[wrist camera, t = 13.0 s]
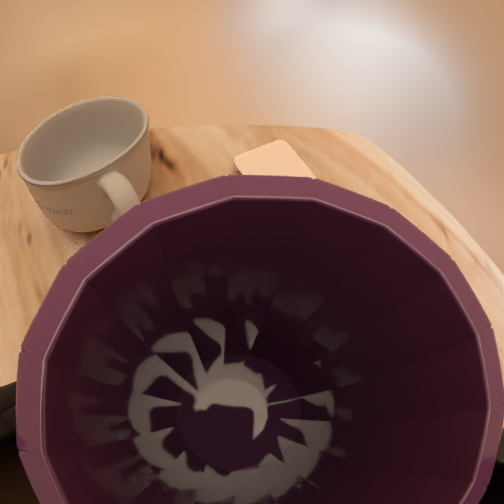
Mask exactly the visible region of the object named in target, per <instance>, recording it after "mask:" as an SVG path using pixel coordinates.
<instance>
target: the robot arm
mask: <svg viewBox="0 0 504 504" xmlns="http://www.w3.org/2000/svg"><path fill="white" fill-rule="evenodd" d="M16 386H17V381H16V382H13V383H10V384H8V385H5V386H2V387H0V504H39V502H38V500H37V498H36V495H35V493H34V491H33V489H32V487H31V485H30V482H29V480H28V478H27V475H26V473H25V470H24V468H23V465H22V463H21V460H20V457H19V453H18V452H19V450H18V449H17V442H16ZM479 504H504V428H502V433H501V439H500V443H499V448H498V453H497V457H496V461H495V465H494V469H493V473H492V476H491V480H490V483H489V485H488V486H487V490H486V492H485V494H484V496H483V497H482V499H481V501H480V502H479Z"/></svg>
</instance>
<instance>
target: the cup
mask: <svg viewBox="0 0 504 504" xmlns="http://www.w3.org/2000/svg"><path fill="white" fill-rule="evenodd" d="M66 263H67V265H63V266H62V268H61V270H60V271H59V273H58V275H57V276H56V278H55V280H54V282H53V283H52V285H51V287H50V289H49V291H48V293H47V294H46V296H45V298H44V300H43V302H42V304H41V306H40V308H39V310H38V312H37V313H36V315H35V317H34V320H33V322H32V324H31V326H30V328H29V330H28V332H27V334H26V336H25V338H24V341H23V343H22V345H21V350H22V351H21V352H20V353H19V359H18V370H17V386H16V442H17V449H18V450H19V452H18V453H19V457H20V460H21V463H22V465H23V468H24V470H25V473H26V475H27V478H28V480H29V482H30V485H31V487H32V489H33V491H34V493H35V495H36V498H37V500H38V502H39V504H479V502H480V501H481V499H482V497H483V496H484V494H485V492H486V490H487V486H488V485H489V483H490V480H491V476H492V473H493V469H494V465H495V461H496V457H497V453H498V448H499V443H500V439H501V433H502V428H503V422H504V384H503V377H502V371H501V365H500V359H499V354H498V348H497V344H496V339H495V334H494V330H493V328H491V322H490V320H489V318H488V317H487V315H486V313H485V311H484V309H483V307H482V305H481V304H480V302H479V300H478V298H477V297H476V295H475V293H474V291H473V290H472V288H471V286H470V285H469V283H468V281H467V280H466V278H465V277H464V275H463V273H462V272H461V270H460V269H459V267H458V265H457V264H456V262H455V261H454V260H452V258H451V256H450V255H449V254H448V253H446V252H445V251H444V250H443V249H442V248H441V247H440V246H439V245H437V244H436V243H435V242H434V241H433V240H432V239H430V238H429V237H428V236H427V235H426V234H424V233H423V232H422V231H421V230H420V229H418V228H417V227H416V226H415V225H414V224H412V223H411V222H410V221H409V220H407V219H406V218H405V217H404V216H402V215H401V214H400V213H399V212H397V211H396V210H395V209H393V208H392V209H390V207H389V206H388V205H386V204H383V203H381V202H378V201H376V200H373V199H371V198H368V197H366V196H363V195H361V194H358V193H355V192H353V191H350V190H347V189H345V188H342V187H339V186H337V185H334V184H331V183H328V182H326V181H323V180H320V179H317V178H315V179H314V180H313V179H312V178H311V177H299V176H275V175H228V176H227V177H226V176H219V177H216V178H213V179H209V180H206V181H203V182H199V183H196V184H193V185H190V186H187V187H184V188H180V189H177V190H174V191H171V192H168V193H165V194H162V195H159V196H156V197H153V198H150V199H148V200H145V201H142V202H141V203H140V205H139V204H137V205H135V206H134V207H132V208H131V209H130V210H128V211H127V212H126V213H124V214H123V215H122V216H120V217H119V218H118V219H117V220H115V221H114V222H113V223H111V224H110V225H109V226H108V227H106V228H105V229H104V230H103V231H101V232H100V233H99V234H98V235H97V236H95V237H94V238H93V239H92V240H90V241H89V242H88V243H87V244H86V245H84V246H83V247H82V248H81V249H80V250H79V251H77V252H76V253H75V254H74V255H73V256H72V257H70V258H69V259H68V260H67V262H66Z"/></svg>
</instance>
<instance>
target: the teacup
mask: <svg viewBox="0 0 504 504" xmlns="http://www.w3.org/2000/svg"><path fill="white" fill-rule="evenodd" d="M148 127H149V117H148V114H147V112H146V109H145V108H144V107H143V106H142V105H141V104H140V103H138V102H137V101H134V100H132V99H129V98H124V97H119V96H104V97H96V98H91V99H87V100H84V101H80V102H77V103H74V104H72V105H69V106H66V107H64V108H62V109H60V110H59V111H57V112H55V113H53V114H52V115H50V116H48V117H47V118H46V119H44V120H43V121H42V122H41V123H39V124H38V125H37V126H36V127H35V128H34V129H33V130H32V131H31V132H30V133H29V135H28V136H27V137H26V139H25V140H24V142H23V144H22V145H21V147H20V149H19V151H18V155H17V158H16V167H17V171H18V173H19V175H20V177H21V178H22V179H23V180H24V181H25V183H26V185H27V187H28V189H29V191H30V192H31V194H32V196H33V198H34V199H35V201H36V203H37V204H38V206H39V207H40V209H41V210H42V212H43V213H44V214H45V215H46V217H47V218H48V219H49V220H50V221H51V222H53V223H54V224H55V225H57V226H59V227H61V228H63V229H65V230H68V231H73V232H92V231H96V230H100V229H103V228H106V227H108V226H109V225H110V224H111V223H113V222H114V221H115V220H117V219H118V218H119V217H120V216H122V215H123V214H124V213H126V212H127V211H128V210H130V209H131V208H132V207H134V206H135V205H137V204H139V205H140V203H141V202H140V201H141V200H142V198H143V197H144V195H145V194H146V191H147V189H148V186H149V183H150V178H151V151H150V141H149V132H148Z"/></svg>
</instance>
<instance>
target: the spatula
mask: <svg viewBox="0 0 504 504" xmlns="http://www.w3.org/2000/svg"><path fill="white" fill-rule="evenodd" d="M234 165H235V166H236V168H237V169H238V170H239V172H240V173H241V174H242V175H275V176H299V177H311V178H312V179H313V180H314V179H315V178H316V177H315V175H314V174H313V173H312V172H311V170H310V169H309V168H308V167H307V165H306V164H305V163H304V162H303V161H302V159H301V158H300V157H299V156H298V155H297V153H296V152H295V151H294V150H293V149H292V148H291V146H290V145H289V144H288V143H286V142H284V141H282V140H280V139H279V140H277V141H274V142H271V143H268V144H266V145H263V146H260V147H258V148H255V149H252V150H250V151H247V152H245V153H242V154H240V155H237V156H235V157H234Z"/></svg>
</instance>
